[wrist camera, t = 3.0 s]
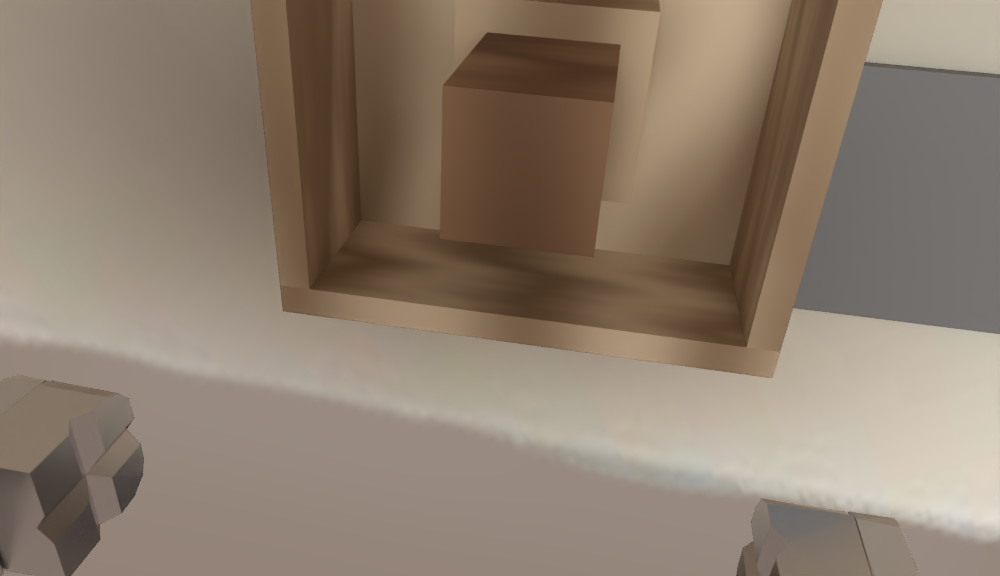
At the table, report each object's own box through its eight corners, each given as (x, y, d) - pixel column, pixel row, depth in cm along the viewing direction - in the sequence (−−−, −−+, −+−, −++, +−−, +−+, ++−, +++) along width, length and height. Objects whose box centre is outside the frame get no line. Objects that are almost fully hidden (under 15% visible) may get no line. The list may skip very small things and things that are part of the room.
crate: (342, 233, 31) (282, 311, 26) (320, -172, 24) (231, -177, 19) (749, 284, 29) (772, 378, 24) (856, -138, 22) (921, -133, 17)
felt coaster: (786, 300, 29) (788, 307, 29) (855, 61, 25) (859, 65, 24) (1038, 332, 28) (1044, 339, 28) (1158, 89, 24) (1167, 93, 23)
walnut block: (481, 158, 25) (439, 238, 20) (487, 32, 23) (442, 85, 18) (603, 171, 25) (593, 257, 19) (620, 44, 23) (614, 102, 17)
